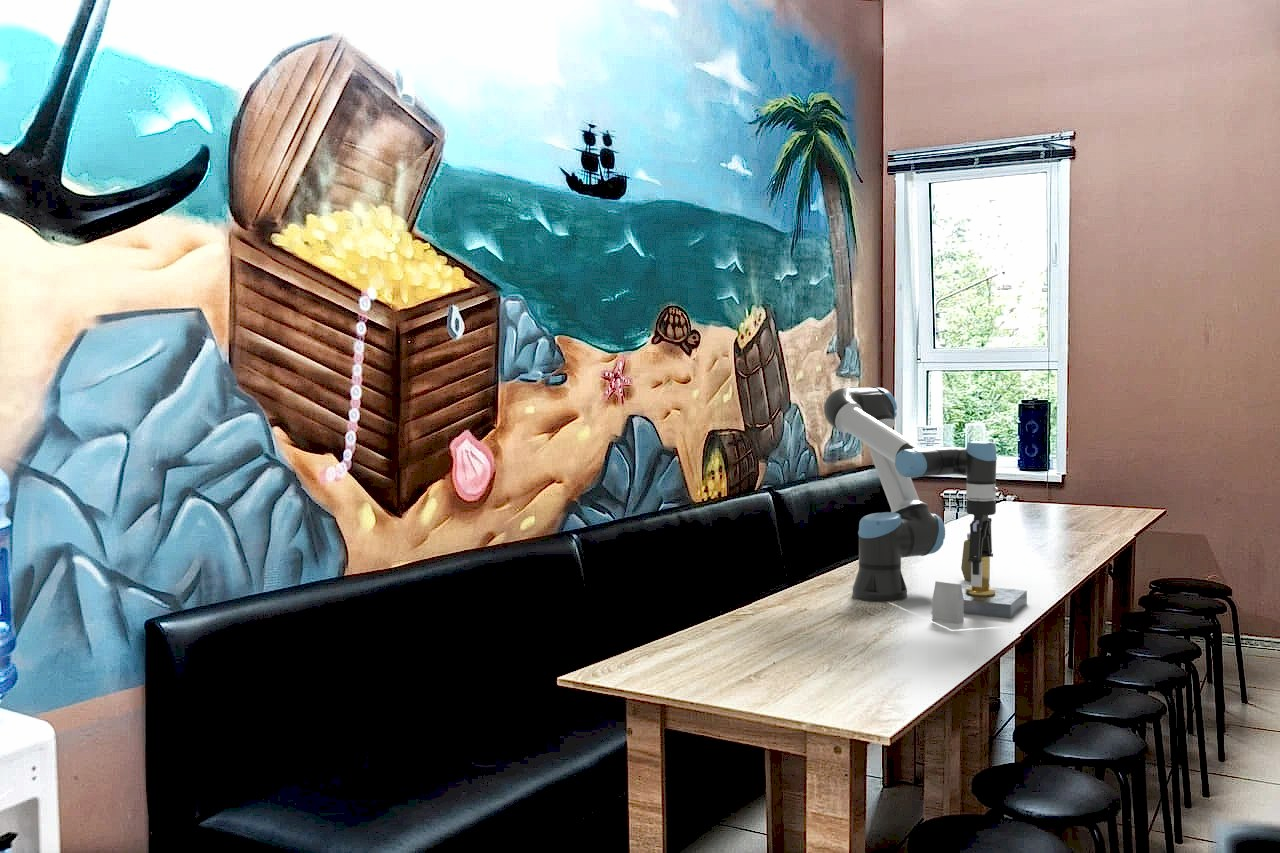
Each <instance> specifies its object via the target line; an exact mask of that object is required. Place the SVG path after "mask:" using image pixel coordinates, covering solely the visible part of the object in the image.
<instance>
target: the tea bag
mask: <svg viewBox="0 0 1280 853" xmlns="http://www.w3.org/2000/svg"><path fill="white" fill-rule="evenodd" d="M931 600H932V611H931V612H932V613H931V614H932V617H931V619H932V621H939V622H946V623H953V624H960V623H961V622H964V615H965V614H964V598H963V593H962V587H961V583H960V584H959V583H951V582H944V581H937V580H936V581H935V582H934V589H933V594H932V599H931Z"/></svg>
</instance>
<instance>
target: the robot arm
mask: <svg viewBox="0 0 1280 853" xmlns="http://www.w3.org/2000/svg"><path fill="white" fill-rule="evenodd" d="M897 410H898V405H897V402H896V399H895V397H894V396H893V394H892V393H891V392H890V391H889V390H888V389H885V388H883V387H876V386H868V387H841V388H838V389H836V390H834V391H832V392H831V393H830V394H829V395H828V396H827V397H826V400H825V402H824V406H823V414H824V417H825V419H826V420H827V422H828V423H829V425H830V426H832V427H833V428H834V429H835V430H837V431H839V432H840V433H844V434H849V435H851V436H853V437H855V438H856V439H857V440H859V441H860V442H862V443H863V444H865V445H866V446H867V449H868V451H869V453H870V457H871V459H872V462H873V465H874V467H875V470H876V472H877V475H878V478H879V481H880V483H881V486H882V489H883V491H884V494H885V496H886V499H887V503H888V504H889V507H890V512H889V511H885V512H884V511H883V512H875V513H874V512H873V513H870V514H867V515H864V516H863V517H861V519H860V520H859V522H858V523H859V524H858V531H857V534H858V570H857V574H856V577H855V579H854V582H853V586H852V597H853V598H854V599H857V600H861V601H866V602H875V603H890V602H895V601H896V602H897V601H902V600H905V599H907V598H908V588H907V585H906V583H905V578H904V576H903V572H902V558H908V557H909V558H911V557H912V558H913V557H919V556H920V557H923V556H927V555H932V554H934V553H937V552H938V551H939V550H940V549H941V548H942V547H943V545H944V540H945V539H946V526H945V523H944V521H943V519H942V517H941V516H939V515H938V514H936V513H932V512H931V510H930V509H929V506H928V503H926V502H924V501H921V500H920V497H919V495H918V492H917V490H916V488H915V484H914V482H913V478H914V479H915V478H919V477H920V478H921V477H932V476H948V475H949V476H950V475H958V476H959V475H960V476H966V495H965V496H966V499H967V500H966V502H965V503H966V504H965V505H966V506H965V509H966V513H967V514H969V515H973V520H972V521H971V523H969V528H970V529H969V531H970V532H969V533H970V549H969V559H968V562H971V582H970V585H971V586H974V587H982V562H981V556H982V555H983V556H989V582H990V581H991V579H990V578H991V576H990V575H991V557H992V558H993V557H994V553H992V552H993V545H992V542H993V539H992V518H991V517H989V516H993V515H995V514H996V512H997V511H996V510H997V508H996V507H997V502H996V500H995V499H996V497H997V494H996V493H997V492H998V491H999V488H998V487H996V486H997V485H996V484H997V460H998V459H997V458H998V457H997V447H996V444H995V443H994V442H992V441H985V440H974V441H973V440H972V441H969V442H967V444H966V447H959V446H952V445H941V446H938V447H928V448H927V447H925V448H924V447H922V446H919V445H918V444H917V443H914V442H912V441H911V440H910V439H909V438H907V437H904V436H903V435H902V434H900V433H899V432H897V431H895V430H894V426H895V424H896V422H895V420H896V417H897V413H898V412H897ZM974 556H976V557H974Z"/></svg>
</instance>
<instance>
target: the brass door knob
mask: <svg viewBox="0 0 1280 853" xmlns="http://www.w3.org/2000/svg"><path fill="white" fill-rule="evenodd" d="M974 557H976V556H974ZM981 562H982V587H974V586H972V587H970V588H966V594H968V595H971V596H980V597H989V596H994V595H995V590H994V589H991V588H989V587H990V581H989V556H983V555H982V556H981Z"/></svg>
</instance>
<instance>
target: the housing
mask: <svg viewBox="0 0 1280 853" xmlns="http://www.w3.org/2000/svg"><path fill="white" fill-rule="evenodd" d="M960 584H961V583H960ZM961 587H962V593H963V598H964V615H971V616H983V617H988V618H990V617H993V618H1001V619H1007V620H1008V619H1009V620H1011V619H1012V618H1013V617H1014V616H1015V615H1017V614H1018V613H1019V611H1021V610H1022V609H1023V608H1025V606H1026V605H1027V603H1028V601H1027V600H1028V591H1027V590H1024V589H1016V588H1005V587H994V586H989V588H991V589H994V590H995V595H994V596H989V597H980V596H971V595H968V594H966V588H970V587H972V586H971V584H961Z"/></svg>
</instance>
